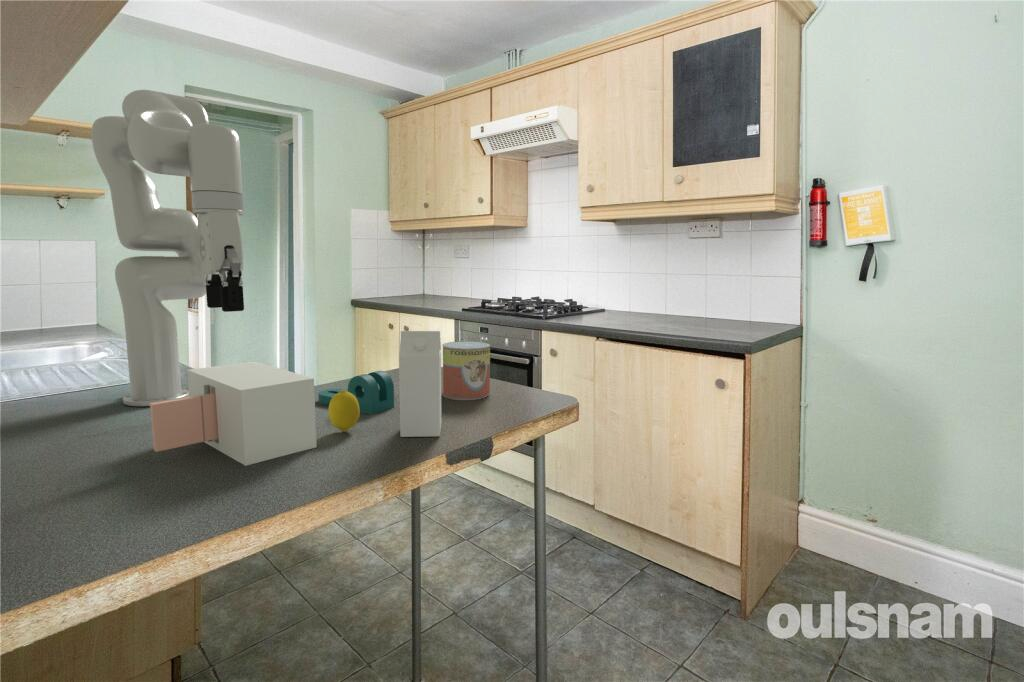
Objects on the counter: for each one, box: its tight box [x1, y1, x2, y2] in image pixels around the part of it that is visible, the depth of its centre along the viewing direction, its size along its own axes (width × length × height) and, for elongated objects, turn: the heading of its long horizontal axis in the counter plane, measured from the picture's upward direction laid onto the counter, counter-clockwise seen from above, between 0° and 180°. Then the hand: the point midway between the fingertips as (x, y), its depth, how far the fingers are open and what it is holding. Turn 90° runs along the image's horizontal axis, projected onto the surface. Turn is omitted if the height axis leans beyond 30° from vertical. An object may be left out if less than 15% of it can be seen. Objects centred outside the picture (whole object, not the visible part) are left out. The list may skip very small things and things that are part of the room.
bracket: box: [318, 370, 395, 415], centre depth 124 cm, size 18×7×8 cm, turn 60°
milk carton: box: [398, 330, 442, 438], centre depth 105 cm, size 7×7×19 cm
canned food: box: [441, 340, 491, 401], centre depth 134 cm, size 11×11×12 cm
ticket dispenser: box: [186, 360, 318, 467], centre depth 98 cm, size 13×22×12 cm, turn 48°
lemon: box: [328, 390, 361, 433], centre depth 105 cm, size 6×6×8 cm
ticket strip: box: [149, 393, 218, 453], centre depth 94 cm, size 18×1×8 cm, turn 138°
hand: (225, 309), depth 95 cm, fingers open, 9 cm apart
